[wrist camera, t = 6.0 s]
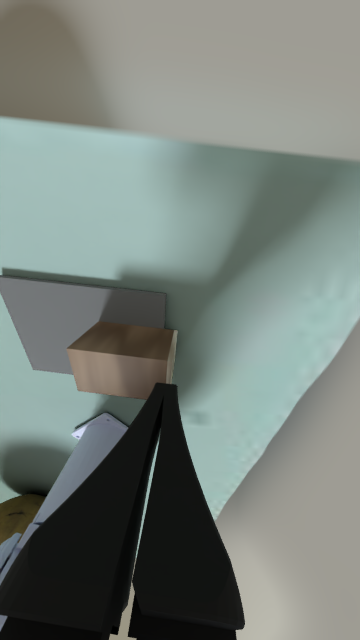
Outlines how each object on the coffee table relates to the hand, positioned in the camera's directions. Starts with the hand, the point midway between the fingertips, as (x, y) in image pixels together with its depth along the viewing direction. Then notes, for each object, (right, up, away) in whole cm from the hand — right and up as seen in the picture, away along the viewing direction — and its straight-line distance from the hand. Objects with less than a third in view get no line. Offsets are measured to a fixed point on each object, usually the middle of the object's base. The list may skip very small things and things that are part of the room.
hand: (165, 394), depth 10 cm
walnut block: (0, +1, +3) cm, 3 cm away
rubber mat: (-8, +3, +5) cm, 10 cm away
